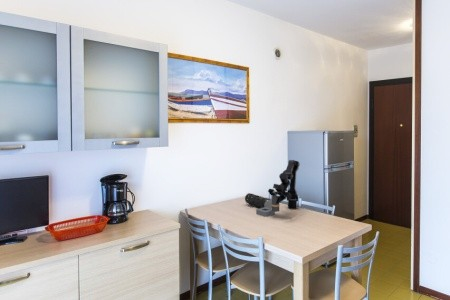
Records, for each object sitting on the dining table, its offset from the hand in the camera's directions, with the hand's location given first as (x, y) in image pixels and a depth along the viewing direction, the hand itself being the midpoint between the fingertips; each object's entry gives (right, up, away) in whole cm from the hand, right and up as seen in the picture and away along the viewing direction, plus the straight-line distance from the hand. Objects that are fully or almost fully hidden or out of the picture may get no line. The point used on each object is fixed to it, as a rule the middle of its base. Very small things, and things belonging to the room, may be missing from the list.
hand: (274, 203), depth 227 cm
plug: (+1, -6, +1) cm, 6 cm away
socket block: (-5, -11, +9) cm, 15 cm away
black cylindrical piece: (-8, -10, +32) cm, 34 cm away
